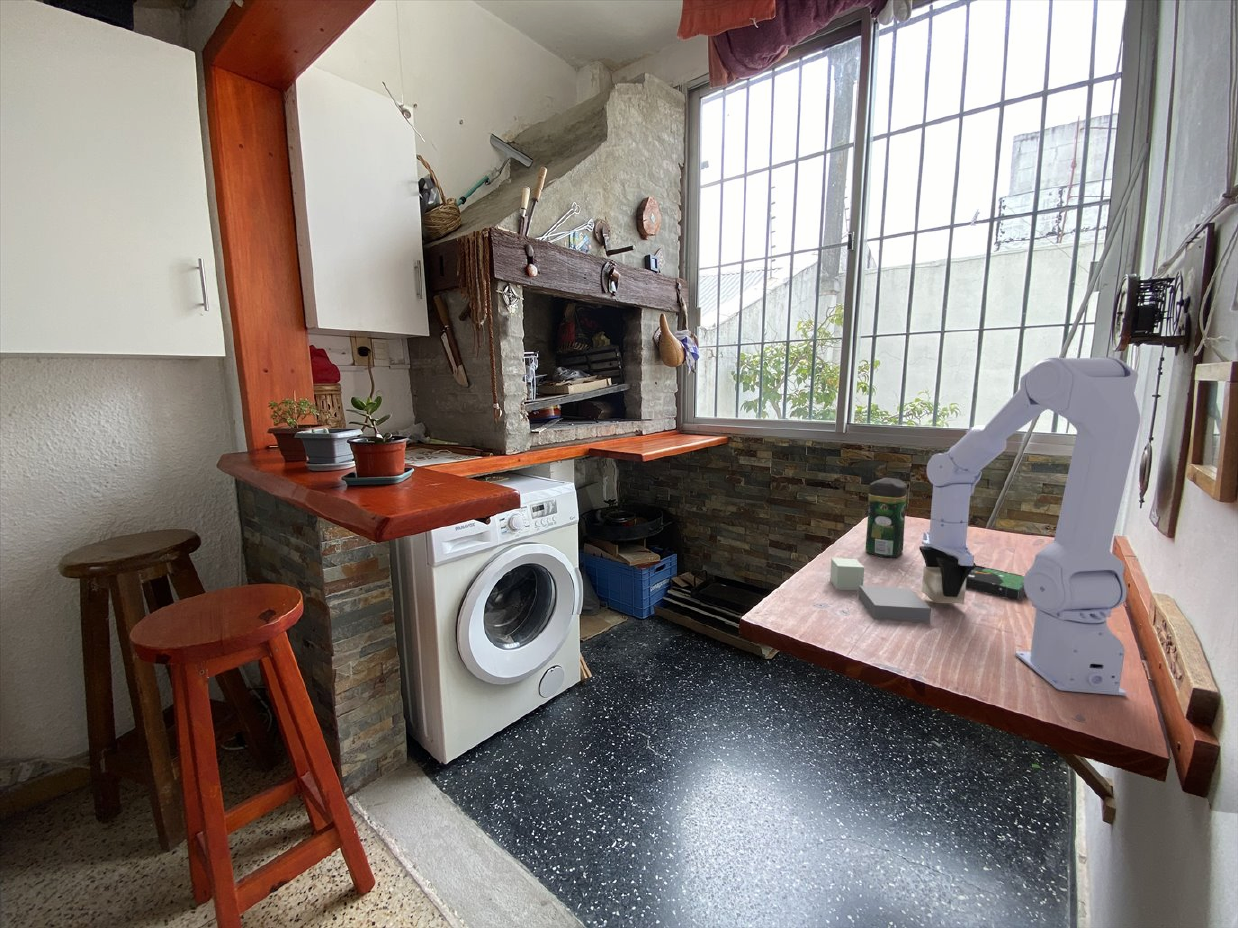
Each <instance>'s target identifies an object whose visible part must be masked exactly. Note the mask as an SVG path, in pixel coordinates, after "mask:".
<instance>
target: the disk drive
mask: <svg viewBox="0 0 1238 928" xmlns="http://www.w3.org/2000/svg"><path fill="white" fill-rule="evenodd" d="M1024 577H1025V575H1024V576H1023V575H1022V574H1018V573H1012V572H1007V571H1004V570H998V569H994V568H990V567H986V566H981V565H978V564H976V566H975V568H974V569H973V570H972V571H971V572H970V573H969V575H968V576H967V577H966V588H965V589H969V590H974V591H978V592H981V593H985V594H989V595H992V596H993V595H994V596H997V597H1001V598H1003V599H1008V600H1011V601H1015V602H1019V601H1021V599H1023V598H1024V597H1025V596H1027V595H1026V593H1025V590H1024Z"/></svg>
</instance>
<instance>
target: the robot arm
mask: <svg viewBox="0 0 1238 928" xmlns="http://www.w3.org/2000/svg"><path fill="white" fill-rule="evenodd" d="M1138 378H1139V372H1137V371H1135V370H1134V369H1133V368H1132V367H1131V366H1130V365H1128V364H1127V363H1126V362H1125V361H1123V360H1122V359H1119V358H1117V357H1112V356H1105V357H1103V356H1102V357H1062V358H1061V357H1059V356H1057V357H1056V356H1050V357H1045V358H1042V359H1040V360H1038V361H1036V363H1034V365H1033V366H1032V367H1031V368H1030V370H1029V371H1027V372H1026V373H1025V374H1024V375H1022V376H1021V377H1020V382H1019V389H1018V390H1017V391H1016V392H1015V393H1013V395H1012V396H1011V398H1010V399H1009V400H1008V401H1007V402H1006V403H1005V404H1004V405H1003V406H1002V407H1001V409H999V410H998V412H997V413H996V414H995V415H994V416H993V417H992V418H991V419H990V420H989V422H988V423H987V424H986V425H976V426H972V427H969V428H968V429H967V430H966V431H965V433H966V434H965V435H963V436H962V438H960V440H958V441H957V442H956V443H955V444H954V445H952V446H951V447H950V448H949V450H948V451H945V452H943V453H935V454H933V455H932V456H931V457H930V459H929V460H928V462H927V463H926V476H927V478H928V481H929V482H930V483H931V484H932V498H931V510H930V511H931V512H930V522H929V531H923V537H922V540H921V546H919V547H918V549H919V551H920V553H921V555H922V557H923V561H924V564H925V567H940V570H941V576H942V590H943V594H944V596H946V597H958V594H959V592H960V590H961V587H962V585H963V583H964V581H965V579H966V577H967V576H968V575H969V573H970V572H971V571H972V570H973V569H974V568H975V566H976V565H977V564H976V563H975V562H974V561H975V555H974V554H973V553H972V552H971V550H970V549H969V546H968V544H967V537H968V536H967V535H968V526H969V516H970V515H969V513H970V506H971V505H970V503H971V496H972V495H973V494H974V493H975V487H976V485H977V483H978V482H980V480H981V477H982V474H983V473H982V470H983V469H984V468H985V467H987V466H988V465H989V464H990V463H991V462H992V461H994V460H995V459H996V458H997V457H998V456H1000V455H1001V454H1002V453H1003V452H1005V450H1006V449H1007V444H1008V443H1007V439H1008V438H1009V437H1011V436H1012V435H1014V434H1015V433H1016V432H1017V431H1019V430H1021V429H1022V428H1023V427H1024V426H1026V425H1027V424H1028V423H1030V422H1031V421H1033V420H1034V419H1036V418H1037V417H1038V416H1039V415H1040V414H1043V412H1044V411H1047V410H1050V411H1051V412H1053V413H1055V414H1057V415H1058V416H1060V417H1062V418H1065V420H1067V421H1068V422H1069V423H1070V424H1071V425H1072V426H1073V427H1074V429H1076V435H1075V440H1074V446H1073V449H1072V455H1071V459H1070V464H1069V468H1068V473H1067V478H1066V482H1065V486H1064V487H1065V488H1064V492H1063V496H1062V502H1061V507H1060V509H1059V510H1060V511H1059V516H1058V521H1057V525H1056V529H1055V535H1054V540H1052V541H1051V543H1049V544H1047V545H1046V546H1045V547H1043V548H1042V549H1041V550H1040V551H1038V552H1037V553H1036V554H1035V556H1034V561H1033V563H1032V566H1031V567H1030V568H1029V569H1028V570H1027V571H1026V573H1025V575H1024V590H1025V593H1026V595H1025V596H1027V598H1028V600H1029V601H1030V602H1031V607H1033V608H1034V609H1035V612H1034V620H1033V621H1034V623H1033V629H1032V637H1031V645H1030V651H1020V650H1016V651H1015V653H1014V655H1016V657H1017V658H1019V659H1020V660H1021V661H1023V663H1025V665H1027V666H1029V667H1030V668H1031V669H1032V670H1034V671H1035V672H1036V673H1037V674H1038V675H1039V676H1041V677H1042V678H1043V679H1044V680H1046V682H1048V683H1049V684H1050V685H1051V686H1053V687H1054V688H1055V689H1056V690H1059V691H1062V692H1063V691H1065V692H1073V693H1074V692H1075V693H1086V694H1087V693H1089V694H1100V695H1101V694H1102V695H1113V696H1127V691H1126V690H1125V689H1123V688H1121V687H1120V686H1121V680H1122V672H1123V665H1124V659H1125V647H1124V645H1123V643H1122V641H1121V639H1120V638H1118V637H1117V636H1116V635H1115V634H1114V633H1113V632H1112V631H1111V630H1110V629H1109V626H1108V622H1107V618H1111V616H1112V615H1111V614H1112V610H1115V609H1117V608H1119V607H1120V606H1122V604H1123V603H1125V601H1126V598H1127V586H1126V582H1125V579H1124V571H1125V567H1126V565H1125V563H1124V562H1123V561H1122V560H1121V559H1120V558H1118V557H1117V556H1116V555H1114V553H1112V552H1111V551H1110V549H1111V545H1112V541H1113V536H1114V533H1115V529H1116V524H1117V521H1118V516H1119V511H1120V507H1121V504H1122V499H1123V494H1124V491H1125V487H1126V483H1127V478H1128V474H1129V471H1130V466H1131V461H1132V457H1133V454H1134V448H1135V445H1136V441H1137V437H1138V433H1139V429H1140V424H1141V414H1140V409H1139V406H1138V403H1137V398H1136V394H1135V391H1136V387H1137V382H1138Z"/></svg>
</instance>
